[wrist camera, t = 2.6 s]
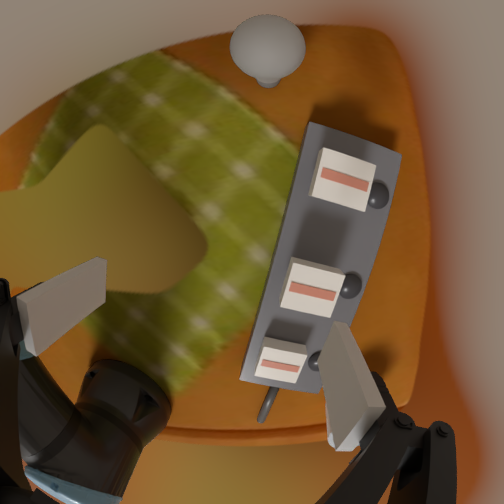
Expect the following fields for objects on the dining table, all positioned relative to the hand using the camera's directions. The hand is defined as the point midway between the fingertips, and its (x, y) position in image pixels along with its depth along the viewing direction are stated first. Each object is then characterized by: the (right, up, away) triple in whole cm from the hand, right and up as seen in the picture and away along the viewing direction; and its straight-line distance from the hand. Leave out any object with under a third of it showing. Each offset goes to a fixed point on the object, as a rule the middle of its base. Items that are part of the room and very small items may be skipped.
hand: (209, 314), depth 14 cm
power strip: (+8, -3, +16) cm, 19 cm away
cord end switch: (+5, -8, +15) cm, 17 cm away
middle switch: (+7, +1, +10) cm, 13 cm away
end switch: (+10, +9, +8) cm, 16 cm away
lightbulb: (+4, +22, +11) cm, 25 cm away
